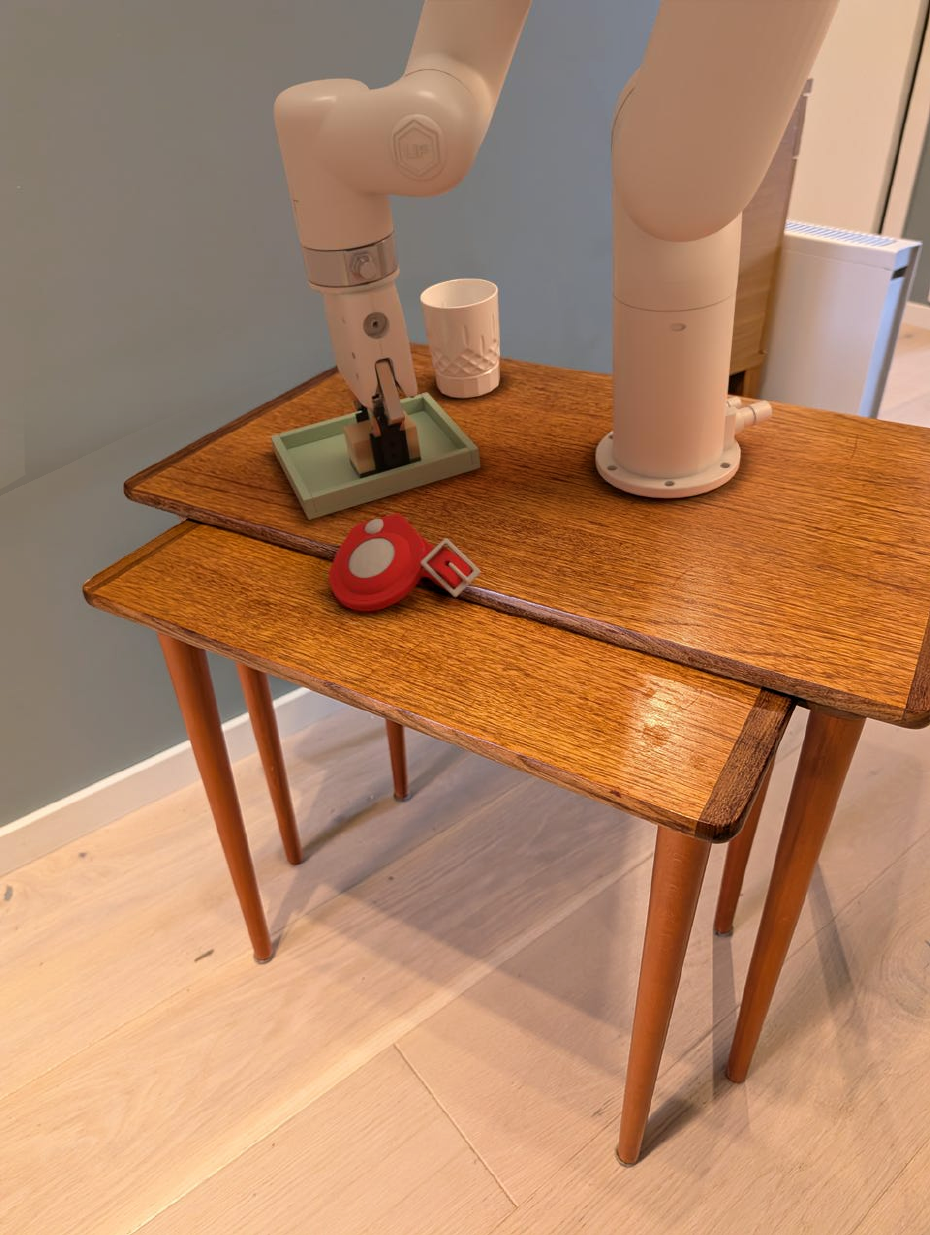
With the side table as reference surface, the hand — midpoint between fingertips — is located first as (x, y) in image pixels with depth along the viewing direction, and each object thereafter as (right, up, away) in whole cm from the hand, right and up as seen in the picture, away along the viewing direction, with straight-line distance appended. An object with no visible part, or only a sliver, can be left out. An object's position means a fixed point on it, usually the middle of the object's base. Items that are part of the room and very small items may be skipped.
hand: (385, 457), depth 84 cm
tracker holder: (+3, -13, -13) cm, 18 cm away
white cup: (+8, +10, +13) cm, 18 cm away
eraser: (0, -1, 0) cm, 1 cm away
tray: (-1, 0, +2) cm, 3 cm away
